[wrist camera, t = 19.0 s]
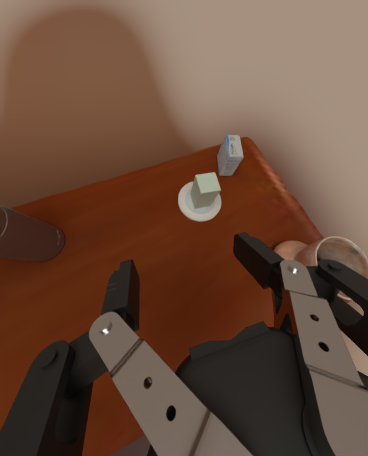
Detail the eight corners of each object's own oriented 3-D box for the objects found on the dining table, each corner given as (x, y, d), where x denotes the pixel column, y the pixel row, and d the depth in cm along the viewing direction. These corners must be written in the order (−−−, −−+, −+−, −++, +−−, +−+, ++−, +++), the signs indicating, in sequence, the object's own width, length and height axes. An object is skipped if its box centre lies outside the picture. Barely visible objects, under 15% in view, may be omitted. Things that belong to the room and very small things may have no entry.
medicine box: (231, 176, 49) (244, 157, 40) (218, 176, 48) (228, 156, 40) (228, 157, 51) (240, 134, 43) (216, 156, 50) (225, 133, 42)
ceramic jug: (276, 306, 38) (337, 326, 25) (251, 254, 42) (292, 246, 28) (325, 279, 42) (401, 283, 29) (298, 233, 46) (355, 217, 32)
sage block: (194, 209, 43) (201, 193, 34) (190, 193, 44) (195, 175, 35) (210, 206, 43) (220, 190, 35) (205, 191, 45) (214, 172, 36)
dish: (184, 226, 42) (184, 224, 41) (173, 186, 45) (173, 184, 44) (225, 217, 44) (227, 215, 43) (212, 180, 47) (213, 177, 46)
